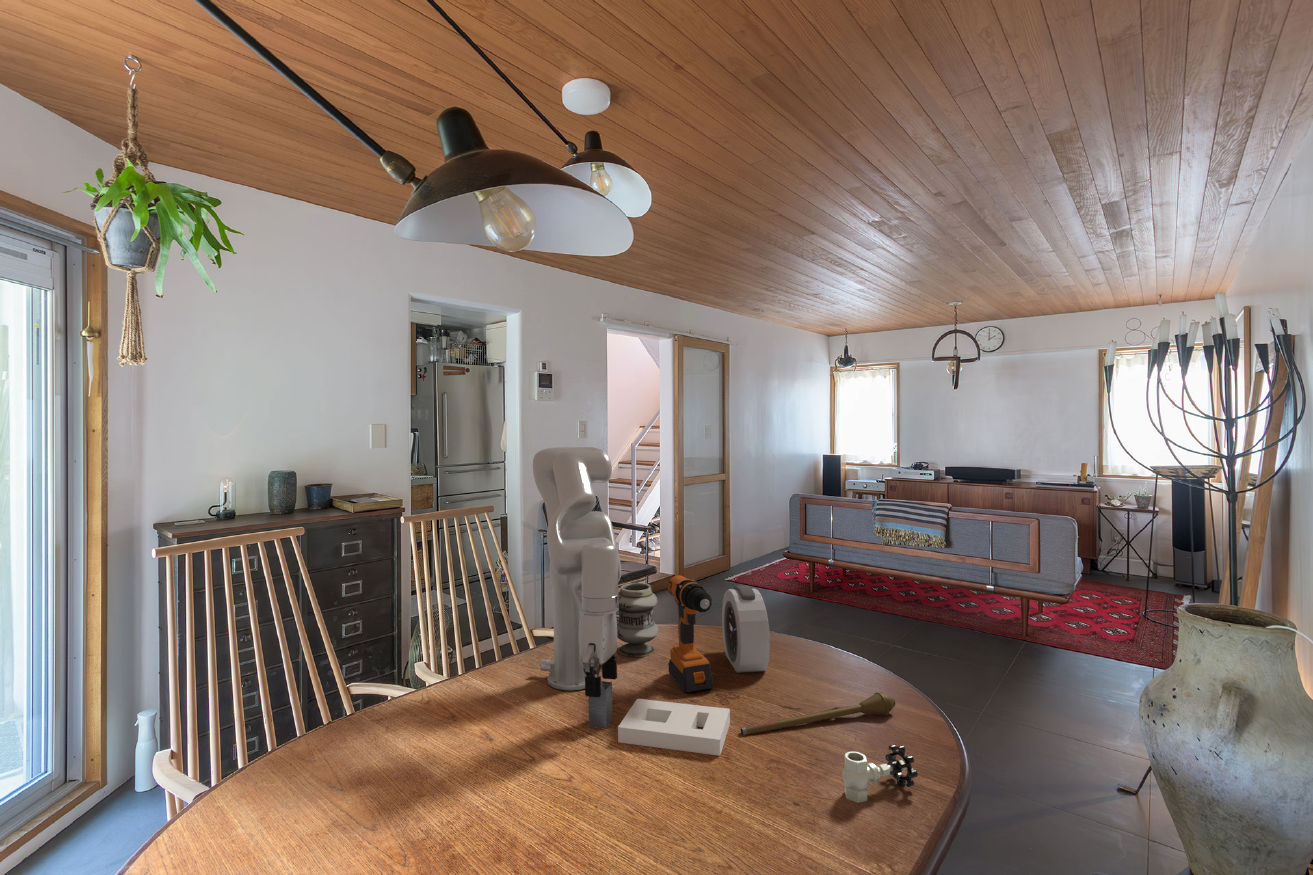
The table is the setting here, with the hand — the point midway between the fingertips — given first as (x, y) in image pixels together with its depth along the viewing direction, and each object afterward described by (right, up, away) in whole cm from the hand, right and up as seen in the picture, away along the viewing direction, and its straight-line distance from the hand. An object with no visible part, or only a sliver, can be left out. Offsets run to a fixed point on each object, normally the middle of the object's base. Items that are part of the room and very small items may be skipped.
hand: (601, 687), depth 124 cm
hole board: (+15, -8, -3) cm, 17 cm away
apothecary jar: (+6, -8, +43) cm, 44 cm away
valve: (+48, -8, -23) cm, 54 cm away
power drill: (+20, -8, +19) cm, 29 cm away
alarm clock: (+34, -8, +34) cm, 49 cm away
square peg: (0, -8, +1) cm, 8 cm away
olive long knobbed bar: (+45, -8, 0) cm, 46 cm away
